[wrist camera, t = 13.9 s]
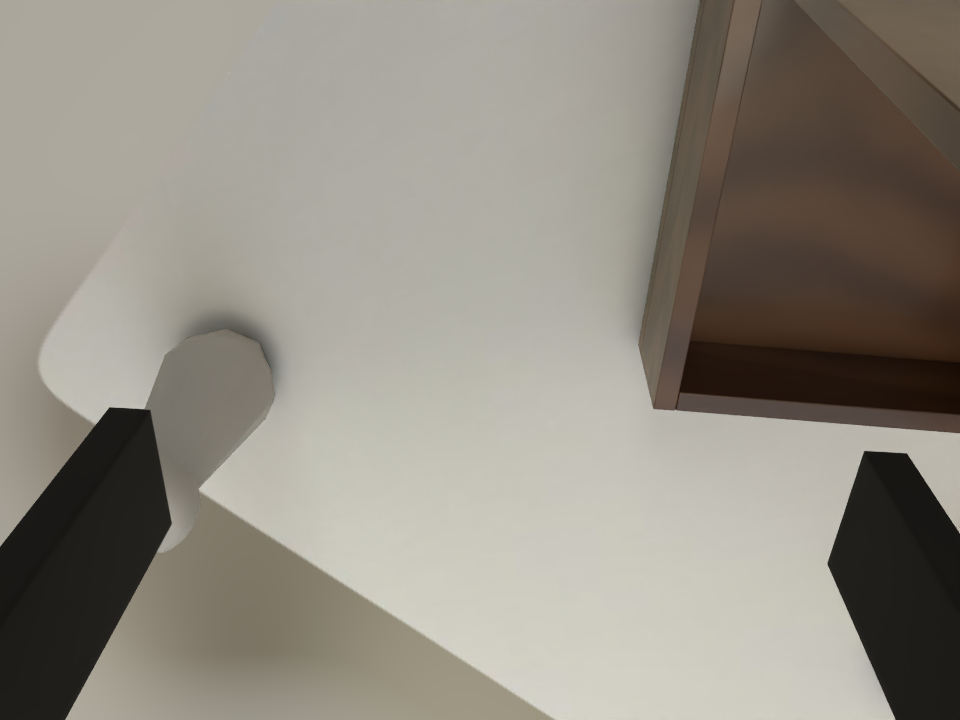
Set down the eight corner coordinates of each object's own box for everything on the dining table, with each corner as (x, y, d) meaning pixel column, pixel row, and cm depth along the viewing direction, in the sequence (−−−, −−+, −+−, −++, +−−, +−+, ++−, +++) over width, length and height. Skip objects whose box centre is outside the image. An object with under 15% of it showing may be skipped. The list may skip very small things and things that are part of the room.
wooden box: (971, 371, 43) (1033, 440, 38) (638, 345, 43) (653, 409, 38) (1141, -40, 33) (1254, -25, 28) (712, -71, 34) (746, -62, 28)
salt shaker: (233, 426, 47) (138, 599, 36) (155, 354, 45) (28, 513, 33) (308, 372, 45) (232, 537, 34) (229, 294, 43) (121, 442, 31)
